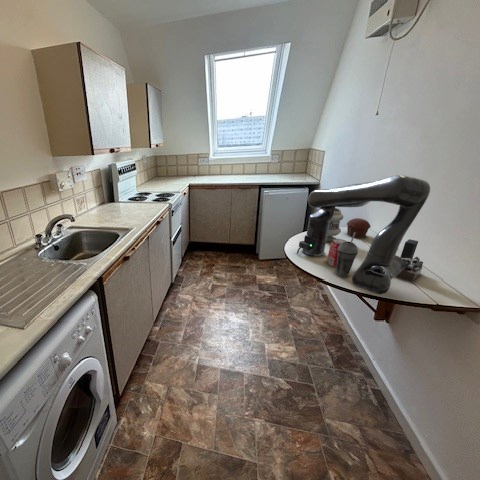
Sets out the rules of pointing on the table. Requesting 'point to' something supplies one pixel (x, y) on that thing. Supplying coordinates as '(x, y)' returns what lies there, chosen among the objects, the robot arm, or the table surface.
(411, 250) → the dark gray rectangular block
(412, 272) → the frame
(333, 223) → the apothecary jar
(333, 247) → the soda can
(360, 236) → the muffin
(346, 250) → the beverage cup
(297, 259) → the table surface
